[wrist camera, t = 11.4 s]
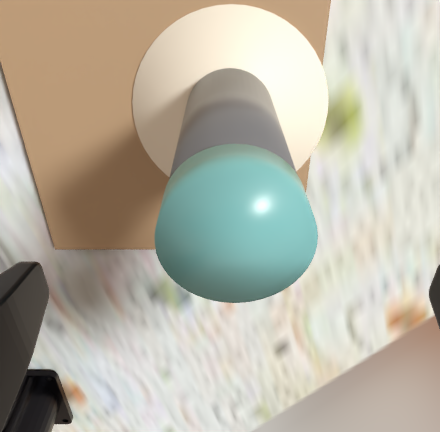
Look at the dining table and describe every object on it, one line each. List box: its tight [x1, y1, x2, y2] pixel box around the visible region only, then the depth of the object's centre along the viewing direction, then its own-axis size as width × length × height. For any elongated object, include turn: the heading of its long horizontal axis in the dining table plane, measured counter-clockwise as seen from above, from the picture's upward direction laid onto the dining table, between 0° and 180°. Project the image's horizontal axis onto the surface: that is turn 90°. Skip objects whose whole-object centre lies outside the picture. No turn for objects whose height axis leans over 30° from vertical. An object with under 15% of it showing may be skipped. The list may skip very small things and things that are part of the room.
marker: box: [154, 68, 318, 303], centre depth 14 cm, size 4×4×10 cm
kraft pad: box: [0, 0, 331, 249], centre depth 19 cm, size 16×14×1 cm
